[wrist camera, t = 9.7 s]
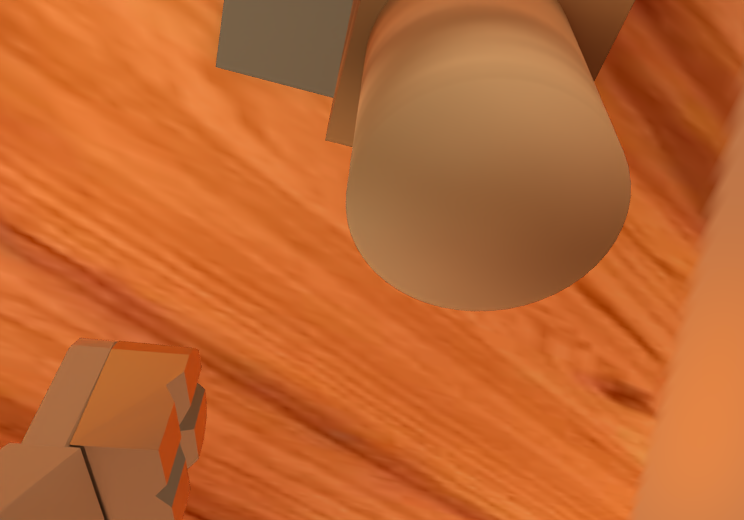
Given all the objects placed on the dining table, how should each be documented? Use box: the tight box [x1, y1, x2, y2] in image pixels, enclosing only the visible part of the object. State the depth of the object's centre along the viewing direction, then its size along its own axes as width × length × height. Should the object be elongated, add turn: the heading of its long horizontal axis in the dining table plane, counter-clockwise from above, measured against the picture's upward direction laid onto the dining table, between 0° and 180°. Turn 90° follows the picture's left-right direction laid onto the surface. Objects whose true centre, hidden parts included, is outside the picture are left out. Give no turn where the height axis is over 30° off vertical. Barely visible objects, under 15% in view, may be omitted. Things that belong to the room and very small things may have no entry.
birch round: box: [346, 0, 631, 311], centre depth 15 cm, size 5×5×6 cm
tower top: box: [325, 0, 635, 147], centre depth 20 cm, size 6×6×6 cm
